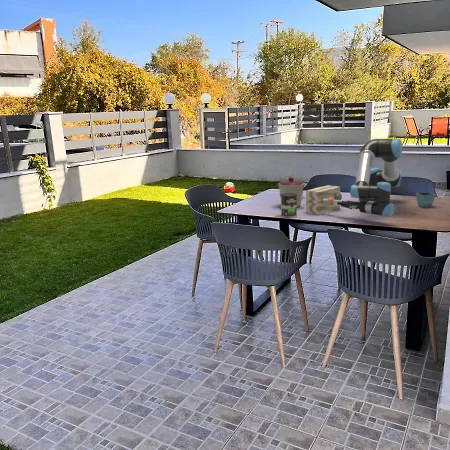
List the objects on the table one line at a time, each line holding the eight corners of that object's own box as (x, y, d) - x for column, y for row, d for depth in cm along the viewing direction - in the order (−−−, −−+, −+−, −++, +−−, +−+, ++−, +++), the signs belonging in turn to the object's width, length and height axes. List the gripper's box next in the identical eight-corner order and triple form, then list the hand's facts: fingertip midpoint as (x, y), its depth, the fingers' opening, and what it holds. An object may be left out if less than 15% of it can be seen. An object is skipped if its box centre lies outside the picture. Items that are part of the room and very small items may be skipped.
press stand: (305, 212, 300) (306, 190, 296) (327, 206, 315) (328, 185, 312) (318, 215, 293) (318, 192, 289) (339, 208, 308) (340, 186, 304)
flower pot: (414, 205, 308) (415, 192, 306) (427, 205, 309) (428, 192, 307) (421, 208, 300) (422, 195, 298) (434, 207, 300) (435, 194, 298)
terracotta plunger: (314, 203, 296) (314, 195, 295) (319, 202, 299) (319, 194, 298) (329, 205, 288) (330, 198, 286) (334, 204, 291) (334, 196, 290)
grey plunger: (322, 199, 308) (322, 192, 307) (326, 198, 311) (326, 191, 310) (337, 201, 300) (337, 194, 298) (341, 200, 303) (341, 193, 301)
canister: (273, 207, 320) (272, 177, 314) (287, 202, 332) (287, 174, 327) (294, 210, 308) (294, 179, 302) (309, 205, 320) (309, 176, 315)
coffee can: (299, 216, 290) (299, 195, 286) (284, 218, 287) (284, 196, 284) (292, 213, 299) (292, 192, 296) (278, 215, 297) (278, 193, 293)
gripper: (361, 215, 267) (327, 209, 284) (373, 211, 275) (339, 206, 292) (362, 202, 265) (328, 197, 282) (373, 199, 273) (340, 194, 291)
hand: (334, 202), depth 287 cm, fingers closed
